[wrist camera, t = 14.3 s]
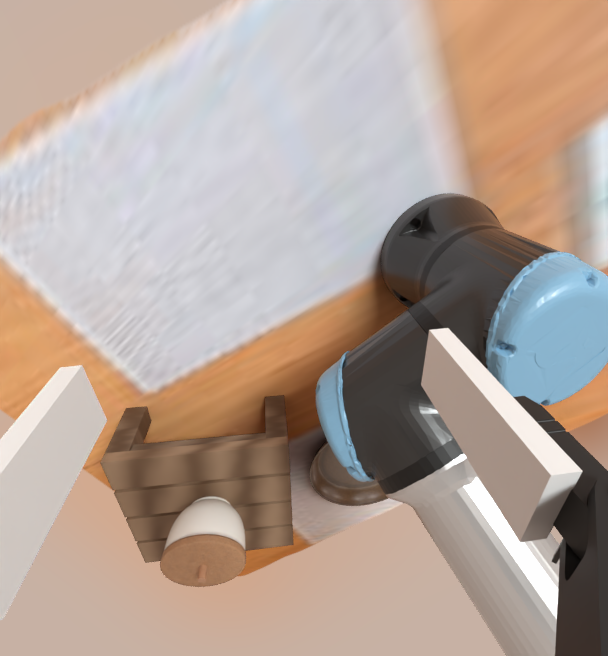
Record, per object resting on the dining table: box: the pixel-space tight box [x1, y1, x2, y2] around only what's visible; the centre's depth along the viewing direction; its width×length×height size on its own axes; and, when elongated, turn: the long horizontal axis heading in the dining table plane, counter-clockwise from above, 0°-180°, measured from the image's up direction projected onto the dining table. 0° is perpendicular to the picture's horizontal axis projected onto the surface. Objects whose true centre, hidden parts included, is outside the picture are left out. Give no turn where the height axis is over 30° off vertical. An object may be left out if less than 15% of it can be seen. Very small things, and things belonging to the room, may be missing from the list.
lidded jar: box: [160, 496, 246, 587], centre depth 47 cm, size 11×11×9 cm
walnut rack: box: [101, 395, 293, 563], centre depth 56 cm, size 24×24×10 cm
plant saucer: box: [310, 441, 388, 506], centre depth 63 cm, size 21×21×3 cm
